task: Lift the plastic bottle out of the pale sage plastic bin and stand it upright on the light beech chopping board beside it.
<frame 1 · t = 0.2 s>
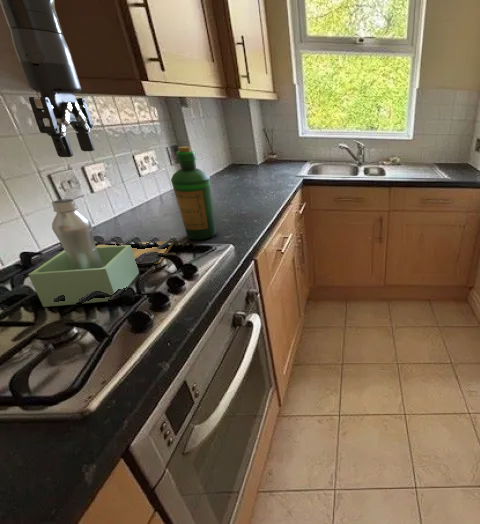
hand: (77, 153, 68), 30 cm above the worktop, tool pointing down, fingers open, 8 cm apart
bottle: (202, 236, 109), on the worktop
bin: (95, 288, 77), on the worktop
board: (128, 255, 94), on the worktop
plastic bottle: (95, 286, 77), point 1 cm above the worktop, touching bin
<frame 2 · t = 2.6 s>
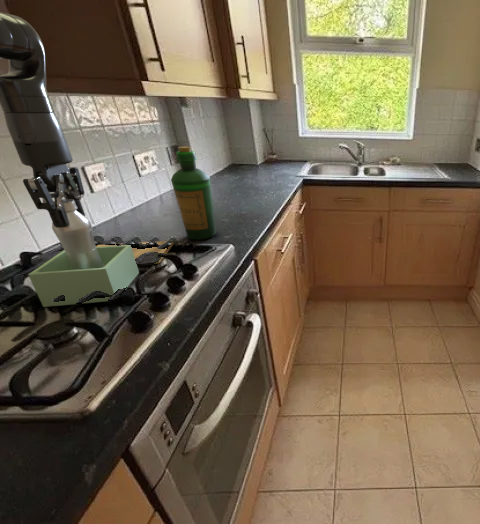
hand: (70, 221, 70), 16 cm above the worktop, tool pointing down, fingers closed on plastic bottle, 6 cm apart
plastic bottle: (95, 286, 77), point 1 cm above the worktop, touching bin, gripper
everything else where it was.
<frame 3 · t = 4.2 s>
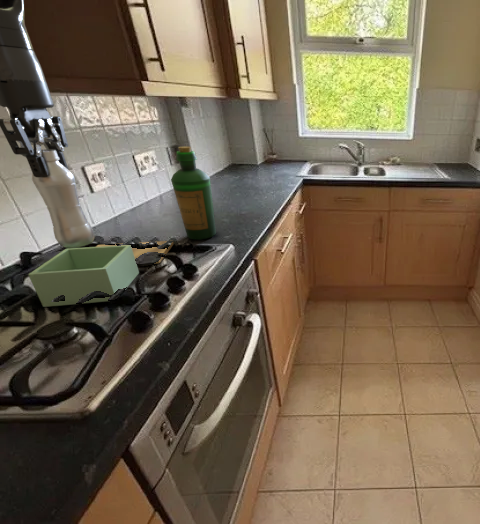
hand: (52, 173, 66), 26 cm above the worktop, tool pointing down, fingers closed on plastic bottle, 6 cm apart
plastic bottle: (79, 246, 73), point 11 cm above the worktop, touching gripper
everything else where it was.
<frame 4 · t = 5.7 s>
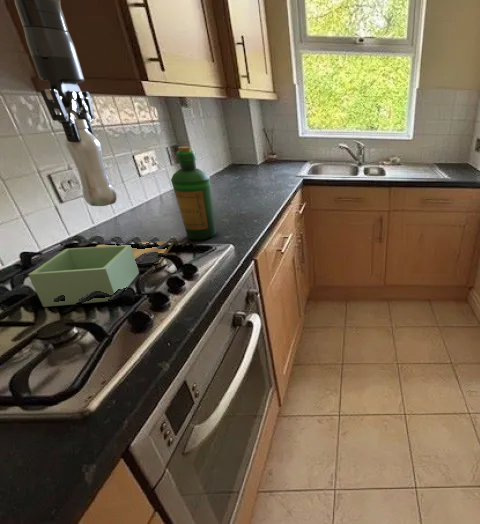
hand: (82, 140, 77), 31 cm above the worktop, tool pointing down, fingers closed on plastic bottle, 6 cm apart
plastic bottle: (103, 206, 83), point 16 cm above the worktop, touching gripper
everything else where it was.
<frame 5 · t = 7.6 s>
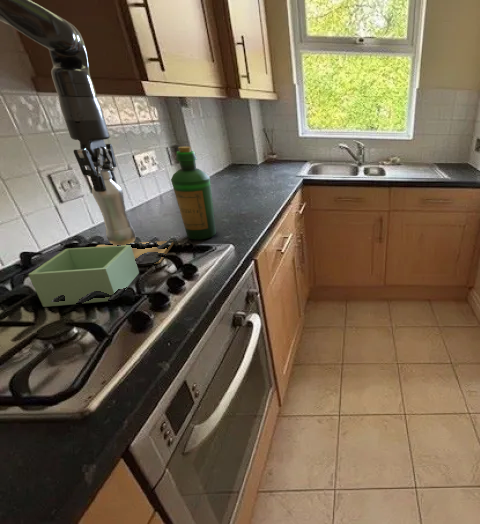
hand: (106, 188, 86), 19 cm above the worktop, tool pointing down, fingers closed on plastic bottle, 6 cm apart
plastic bottle: (124, 244, 92), point 4 cm above the worktop, touching gripper
everything else where it was.
when the fingers open (17 cm above the worktop, at t = 8.9 s): plastic bottle stays where it is, resting on board.
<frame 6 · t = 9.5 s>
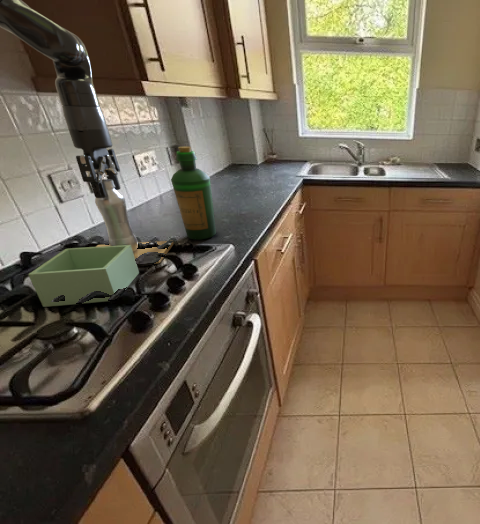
hand: (108, 193, 86), 18 cm above the worktop, tool pointing down, fingers open, 8 cm apart
plastic bottle: (126, 252, 94), point 1 cm above the worktop, touching board
everything else where it was.
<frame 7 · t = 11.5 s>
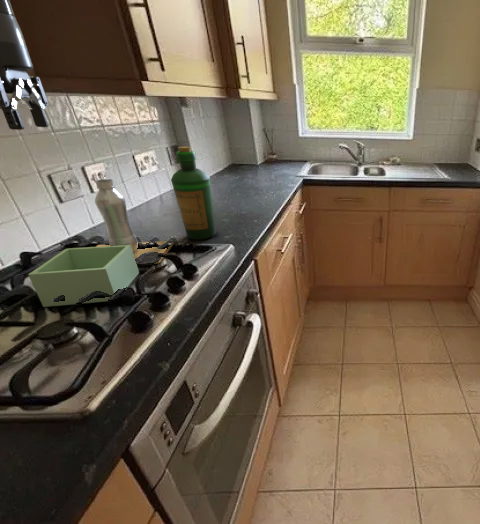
hand: (30, 128, 73), 34 cm above the worktop, tool pointing down, fingers open, 8 cm apart
nothing on the worktop moved.
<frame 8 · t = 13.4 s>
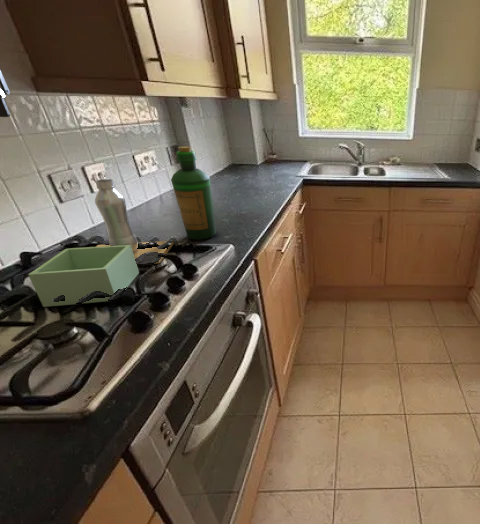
nothing on the worktop moved.
at the end: plastic bottle inside the target area on the board (0.1 cm from its centre), point 1.0 cm above the board's base; plastic bottle tilted 0°; the gripper is holding nothing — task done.
